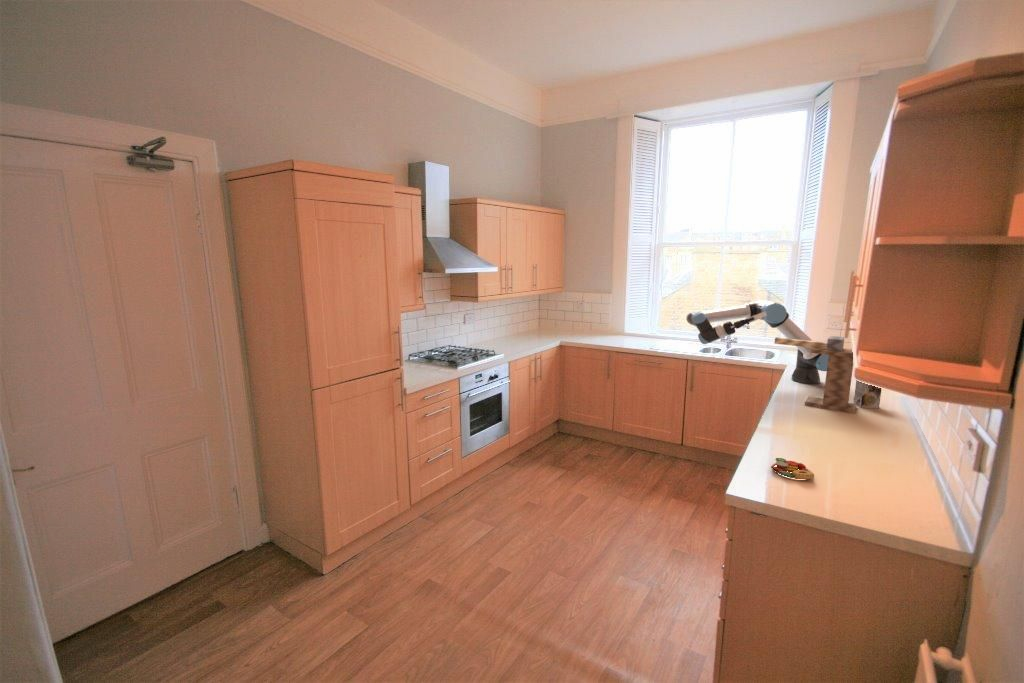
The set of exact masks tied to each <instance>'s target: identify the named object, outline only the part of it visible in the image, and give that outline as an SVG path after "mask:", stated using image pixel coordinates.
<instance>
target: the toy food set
mask: <svg viewBox="0 0 1024 683" xmlns="http://www.w3.org/2000/svg"><path fill="white" fill-rule="evenodd" d="M775 465H777V467H774V466H775ZM770 468H771V469H772V468H773V469H772V471H773V470H774V471H776V472H777V473H779V474H781V475H784V476H787V477H790V478H795V479H808V480H811V479H814V478H815V474H814V473H813V471H811V470H810V469H808V468H807V467H806V465H805V464H804V463H802V462H798V461H794V460H786V459H785V458H783V457H776V458H775V463H773V464H772V465H771V466H770ZM798 469H799V470H798ZM774 471H773V472H774ZM787 471H788V472H787ZM790 472H792V473H790Z"/></svg>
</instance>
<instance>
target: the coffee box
mask: <svg viewBox="0 0 1024 683" xmlns="http://www.w3.org/2000/svg"><path fill="white" fill-rule="evenodd" d="M854 387H855V388H854V396H853V403H854V404H857V407H858V408H862V409H865V408H866V409H879V408H880V404H881V403H880V402H881V398H882V397H881V395H882V389H881V388H878V387H875V386H872V385H868V384H865V383H862V382H859V381H857V380H856V379H855V386H854Z"/></svg>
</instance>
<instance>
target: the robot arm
mask: <svg viewBox="0 0 1024 683" xmlns="http://www.w3.org/2000/svg"><path fill="white" fill-rule="evenodd" d="M740 319H741V320H740ZM685 320H686V321H687V323H688V324H690V325H692V326H694V327H696V329H697V331H699V333H698V335H697V337H698V339H699V342H700V343H701V344H702V345H707V344H711V343H712V342H716V341H717V340H720V339H725V338H726V337H728V336H731V335H734V334H736V330H738V329H740V328H742V327H744V326H745V325H748V326H749V325H750V323H752V322H753V323H754V322H755V321H757V320H761V321H764V322H765V323H766V324H767V325H768V326H769V327H770V328H772V329H777V331H779V332H780V333H781V335H783V336H784V337H785V338H787V339H797V340H807V341H814V340H812V338H811V337H810V336H809V335H808V334H807V333H805V332H804V331H803V330H802V329H801V328H800V327H799V326H798V325H797V324H796V323H795V322H794V321H792V319H790V314H789V313H788V312H787V309H786V307H785V306H784V305H782V304H781V303H780V302H776V301H770V300H758V301H752V302H748V303H744V304H743V305H740V306H739V305H738V306H731V307H726V308H724V307H723V308H718V309H712V310H711V309H710V310H707V311H706V310H705V311H696V312H695V311H693V312H689V313H688V314H687V315H686V319H685ZM732 320H733V321H734V320H737V321H734V322H731V321H732ZM724 321H725V322H724ZM719 322H724V323H723V324H722V323H720V324H717V325H716V326H714V327H713V325H712V324H711V323H719ZM795 348H796V349H797V353H796V364H795V368H794V371H793V373H792V375H791V380H792V381H794V382H796V383H800V384H801V383H802V384H811V385H815V384H820V383H821V378H820V372H827V364H828V356H829V355H826V354H817V353H811V349H812V348H811V347H801V346H795ZM819 371H820V372H819Z"/></svg>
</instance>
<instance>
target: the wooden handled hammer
mask: <svg viewBox="0 0 1024 683" xmlns="http://www.w3.org/2000/svg"><path fill="white" fill-rule="evenodd" d="M773 344H776V345H781V346H782V345H783V346H784V345H785V346H793V347H796V346H801V347H811V348H821V349H826V350H828V351H838V352H841V351H842V350H843V348H844V345H845V336H836V335H830V336H829V337H828V338H827V341H825V342H824V341H815V340H813V341H807V340H797V339H787V338H786V337H785V338H784V337H783V338H782V337H775V338H774V343H773Z"/></svg>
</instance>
